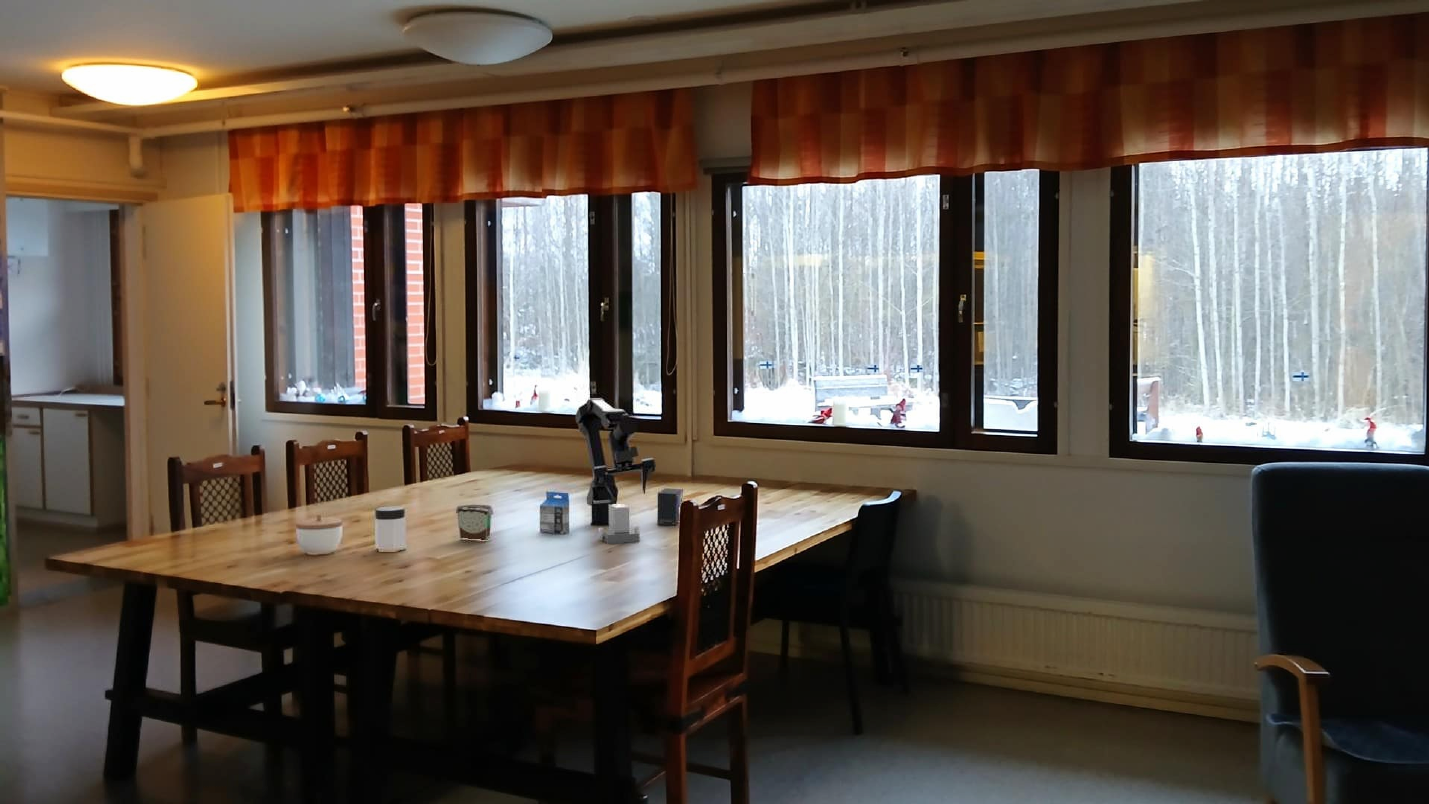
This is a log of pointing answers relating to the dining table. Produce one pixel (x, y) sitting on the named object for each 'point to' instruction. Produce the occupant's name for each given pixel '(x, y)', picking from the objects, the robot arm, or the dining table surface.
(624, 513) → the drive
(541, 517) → the label tape box
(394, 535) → the jar
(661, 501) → the small box
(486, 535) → the food container
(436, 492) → the dining table surface
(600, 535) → the dock
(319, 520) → the lidded bowl
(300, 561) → the dining table surface
